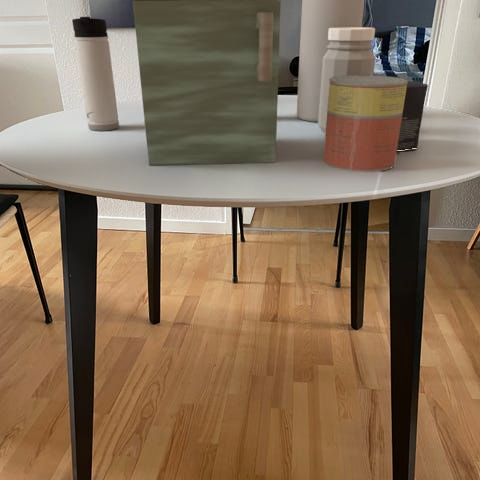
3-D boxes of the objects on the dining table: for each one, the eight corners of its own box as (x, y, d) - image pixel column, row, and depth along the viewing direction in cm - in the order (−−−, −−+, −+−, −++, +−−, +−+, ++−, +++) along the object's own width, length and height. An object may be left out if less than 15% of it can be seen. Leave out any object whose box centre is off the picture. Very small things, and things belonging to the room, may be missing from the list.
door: (280, 171, 75) (286, -1, 63) (146, 174, 73) (127, 0, 62) (274, 160, 80) (279, 0, 69) (149, 163, 79) (133, 1, 67)
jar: (309, 128, 103) (316, 27, 94) (351, 125, 106) (362, 27, 96) (330, 137, 95) (340, 28, 86) (375, 134, 98) (389, 28, 88)
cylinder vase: (335, 125, 106) (348, -17, 93) (285, 119, 112) (291, -15, 99) (361, 116, 114) (376, -15, 101) (313, 111, 121) (322, -13, 107)
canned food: (378, 153, 85) (389, 74, 78) (407, 170, 75) (422, 83, 69) (314, 155, 83) (320, 76, 77) (334, 174, 74) (343, 85, 67)
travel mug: (85, 131, 101) (67, 16, 91) (92, 125, 107) (75, 16, 96) (116, 131, 102) (101, 16, 91) (121, 125, 107) (108, 16, 97)
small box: (353, 141, 93) (359, 78, 87) (382, 138, 95) (391, 77, 89) (386, 153, 84) (396, 85, 79) (418, 150, 86) (430, 83, 81)
